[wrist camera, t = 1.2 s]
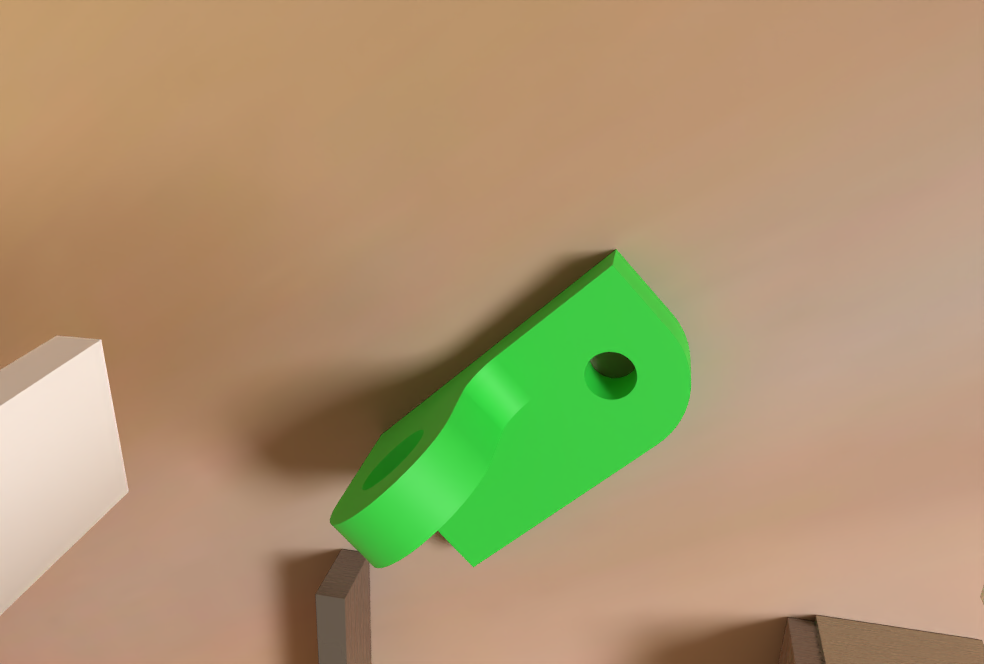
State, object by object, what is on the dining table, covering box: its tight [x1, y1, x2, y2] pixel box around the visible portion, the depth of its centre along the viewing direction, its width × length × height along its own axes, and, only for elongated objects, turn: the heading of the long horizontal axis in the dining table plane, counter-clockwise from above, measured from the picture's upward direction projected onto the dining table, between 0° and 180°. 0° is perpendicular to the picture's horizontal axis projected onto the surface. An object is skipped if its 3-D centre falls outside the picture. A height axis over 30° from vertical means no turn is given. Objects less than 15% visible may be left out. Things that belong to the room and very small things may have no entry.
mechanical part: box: [330, 250, 691, 568], centre depth 30 cm, size 12×6×8 cm, turn 133°
